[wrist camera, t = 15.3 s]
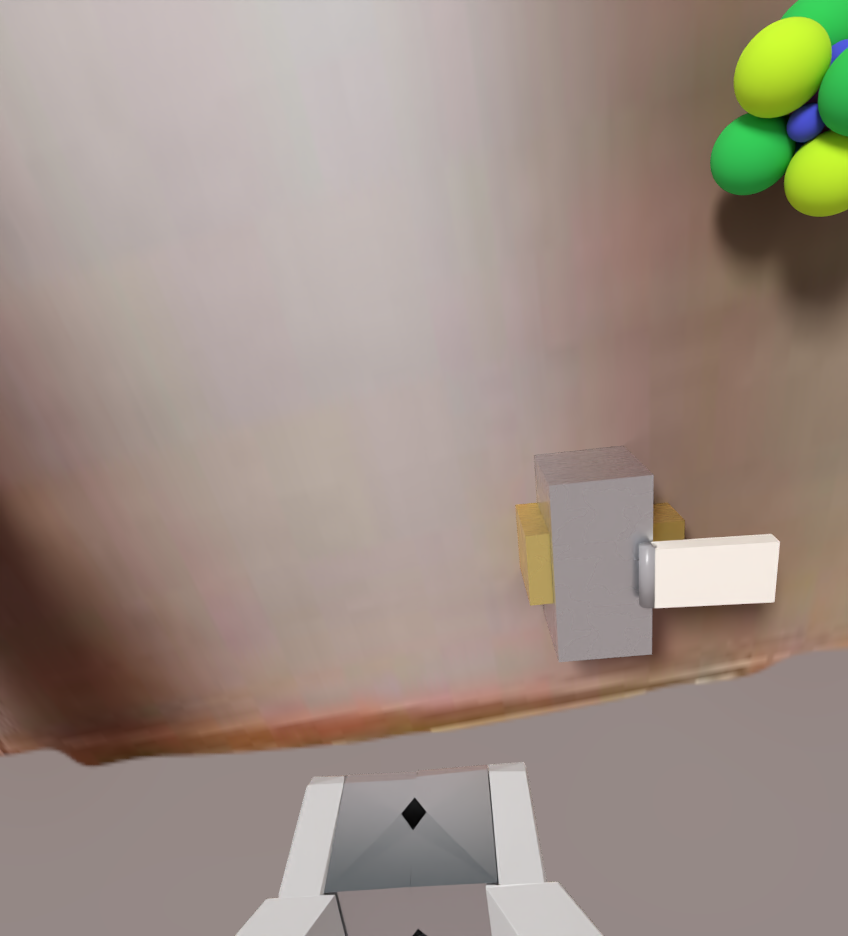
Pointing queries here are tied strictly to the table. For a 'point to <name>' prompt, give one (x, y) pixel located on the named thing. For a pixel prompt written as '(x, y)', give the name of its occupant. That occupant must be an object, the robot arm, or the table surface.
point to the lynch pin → (539, 554)
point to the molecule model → (792, 111)
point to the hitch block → (596, 551)
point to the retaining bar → (708, 571)
